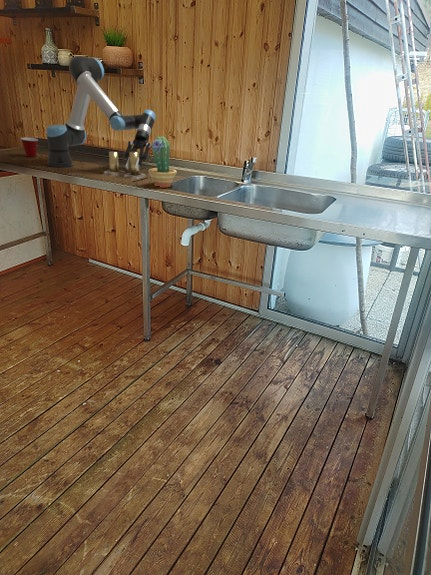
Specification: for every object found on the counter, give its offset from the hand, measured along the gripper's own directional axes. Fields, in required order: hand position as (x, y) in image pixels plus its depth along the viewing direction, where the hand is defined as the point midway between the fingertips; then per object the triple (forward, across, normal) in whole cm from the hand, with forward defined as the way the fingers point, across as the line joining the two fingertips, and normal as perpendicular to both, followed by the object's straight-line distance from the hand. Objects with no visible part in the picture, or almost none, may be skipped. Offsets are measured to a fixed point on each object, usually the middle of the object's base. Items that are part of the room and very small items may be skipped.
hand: (131, 168), depth 221 cm
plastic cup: (-20, +91, -29) cm, 98 cm away
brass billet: (0, 0, -5) cm, 5 cm away
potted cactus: (+8, -20, -2) cm, 21 cm away
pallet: (+1, +7, -8) cm, 11 cm away
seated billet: (-1, +14, -8) cm, 16 cm away
